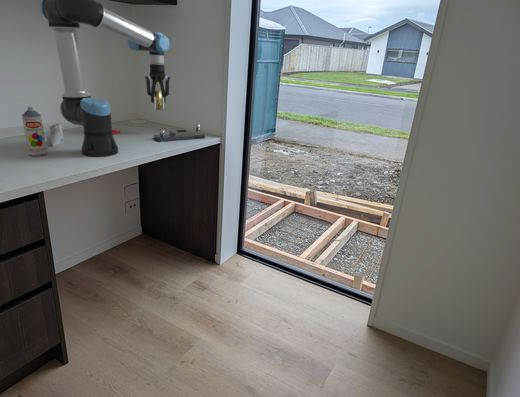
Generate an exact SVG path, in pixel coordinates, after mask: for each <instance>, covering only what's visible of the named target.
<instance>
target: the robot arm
mask: <svg viewBox="0 0 520 397" xmlns="http://www.w3.org/2000/svg"><path fill="white" fill-rule="evenodd" d="M39 6H40V8H39V9H40V11H41V14H42V15H43V17H44V18H45V19H46V20H47V23H48V27H49V29H50V30H51V31H53V33H54V39H55V43H56V49H57V54H58V60H59V65H60V70H61V76H62V80H63V81H62V82H63V87H64V92H63V94H62V95H61V96H62V97H61V98H62V102H61V103H60V106H59V110H60V114H61V116H62V118H63V119H64V120H66V121H67V122H68V123H71V124H73V125H76V126H82V127H83V129H82V130H83V135H84V137H83V141H82V145H81V153H82V155H83V156H88V157H95V158H96V157H107V156H108V157H109V156H113V155H116V154H118V153H119V147H118V144H117V142H116V140H115V138H114V135H113V134H112V130H113V125H112V110H111V105H110V103H109V101H107V100H105V99H103V98H96V97H92V96H91V93H90V92H88V91H87V87H86V81H85V76H84V75H85V73H84V68H83V63H82V56H81V51H80V43H79V37H78V32H79V30H81V25H80V24H83V25H88V26H91V27H93V28H98V27H100V28H102V29H104V30H105V31H109V32H110V33H113V34H115V35H117V36H120V37H122V38H124V39H126V40H127V46H128V48H129V49H130V50H133V51H140V52H141V51H142V52H149V53H148V54H149V63H150V64H149V74H148V75H145V76H144V79H145V82H146V83H145V84H146V93H147V96H150V102H151V103H152V108H153V109H154V110H156V97H155V96H154V94H155V90H156V86H157V83H158V84H159V87H160V91H162V110H165V103H166V100H167V99H166V97H168V96H170V80H171V77H170V76H167V75H166V74H165V73H166V72H165V65H164V64H165V52H167V51H168V50H169V49H170V40H169V38H168V37H167V36H166V35H164V34H163V33H162V32H161V31H160V32H159V31H150V30H149V29H148V28H145V27H143V26H141V25H139V24H136V23H135V22H133V21H131V20H129V19H127V18H125V17H122V16H121V15H119V14H117V13H115V12H113V11H111V10H109V9H107V8H105V7H104V5H103V4H102V3H100V2H99V1H96V0H40V3H39ZM150 80H152V81H150ZM164 81H165V82H164ZM164 83H165V85H164Z"/></svg>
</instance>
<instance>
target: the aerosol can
mask: <svg viewBox="0 0 520 397" xmlns="http://www.w3.org/2000/svg"><path fill="white" fill-rule="evenodd" d="M21 116H22V117H21V119H22V124H23V130H24V135H25V142H26V147H27V152H28V156H29V157H36V158H37V157H43V156H46V155H48V151H47V150H48V149H47V145H46V143H47V142H46V136H45V132H44V125H43V120H42V115H41V114H40V113H39V112H38V111H36V110H35V109H34V107H33V106H28V107H27V110H26V111H25V112H24V113H23V114H21Z"/></svg>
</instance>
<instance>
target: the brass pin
mask: <svg viewBox="0 0 520 397" xmlns="http://www.w3.org/2000/svg"><path fill="white" fill-rule="evenodd" d="M154 97H156V109H155V110H158V111H163V109H162V91H161V89H159V90H158V89H157V90H156V89H155V94H154Z"/></svg>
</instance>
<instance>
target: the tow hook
mask: <svg viewBox="0 0 520 397" xmlns="http://www.w3.org/2000/svg"><path fill="white" fill-rule="evenodd" d="M120 133H121V130H118V129H112V134H113V136H114V135H115V134H120Z"/></svg>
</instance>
